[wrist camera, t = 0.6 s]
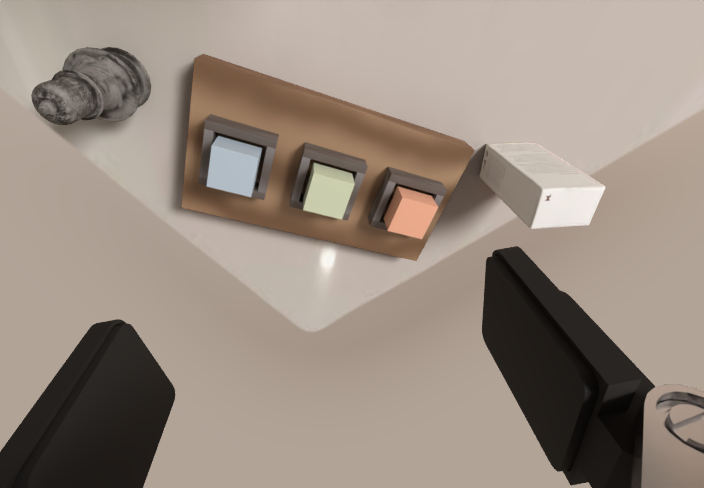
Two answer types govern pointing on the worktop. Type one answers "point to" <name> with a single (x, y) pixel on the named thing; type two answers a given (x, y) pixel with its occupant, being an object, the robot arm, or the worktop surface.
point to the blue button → (233, 166)
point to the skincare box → (540, 185)
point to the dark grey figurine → (93, 87)
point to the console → (313, 157)
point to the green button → (328, 191)
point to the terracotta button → (410, 213)
